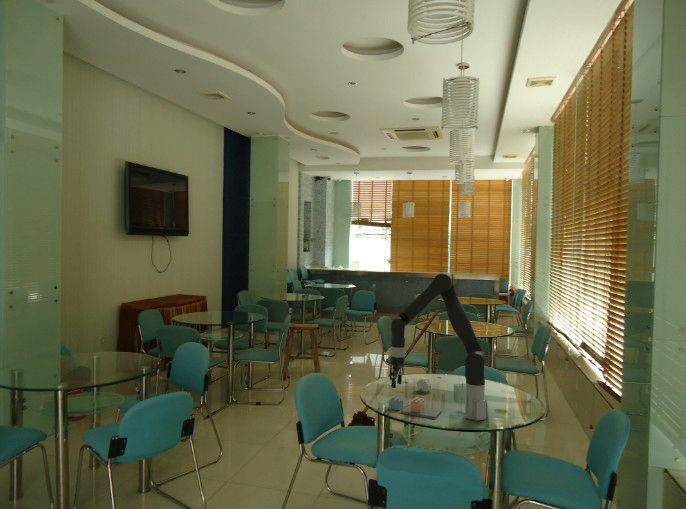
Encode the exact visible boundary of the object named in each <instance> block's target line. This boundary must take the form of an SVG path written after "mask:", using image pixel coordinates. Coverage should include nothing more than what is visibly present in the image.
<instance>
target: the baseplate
mask: <svg viewBox="0 0 686 509" xmlns="http://www.w3.org/2000/svg"><path fill="white" fill-rule="evenodd" d="M442 413H443V412H442V410H439V409H434V408H428V407H424V410H423V411H422V412H414V411H411V404H410V405H409V404H408V405H407V406H405V407H403V408H402V409H401V410H400V414H403V415H410V416H414V417H420V418H426V419H430V420H431V419H432V420H436V419H437V418H438V417H439V416H440V415H441V414H442Z"/></svg>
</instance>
